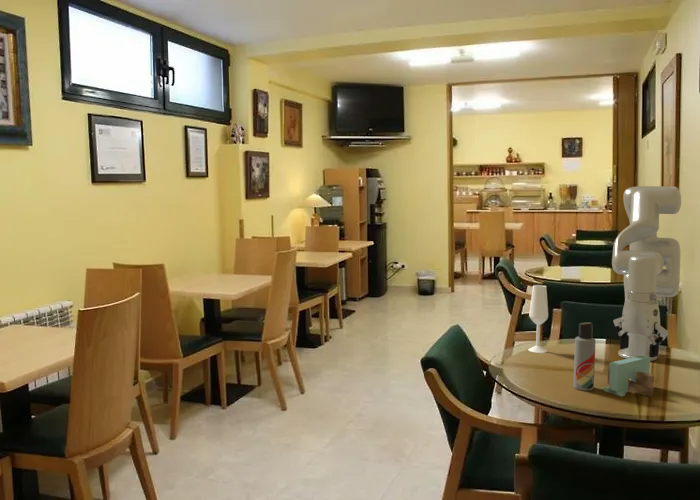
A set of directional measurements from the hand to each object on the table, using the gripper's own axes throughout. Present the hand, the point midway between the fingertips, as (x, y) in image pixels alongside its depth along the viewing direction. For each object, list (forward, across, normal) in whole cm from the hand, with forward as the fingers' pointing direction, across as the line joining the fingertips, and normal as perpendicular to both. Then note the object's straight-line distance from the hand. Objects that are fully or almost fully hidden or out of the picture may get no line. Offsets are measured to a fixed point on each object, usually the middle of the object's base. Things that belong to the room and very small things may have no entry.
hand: (638, 352), depth 186 cm
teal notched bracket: (+10, -1, +5) cm, 11 cm away
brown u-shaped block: (+10, -1, +5) cm, 11 cm away
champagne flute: (+12, +44, -5) cm, 46 cm away
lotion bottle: (+10, +7, +15) cm, 20 cm away
